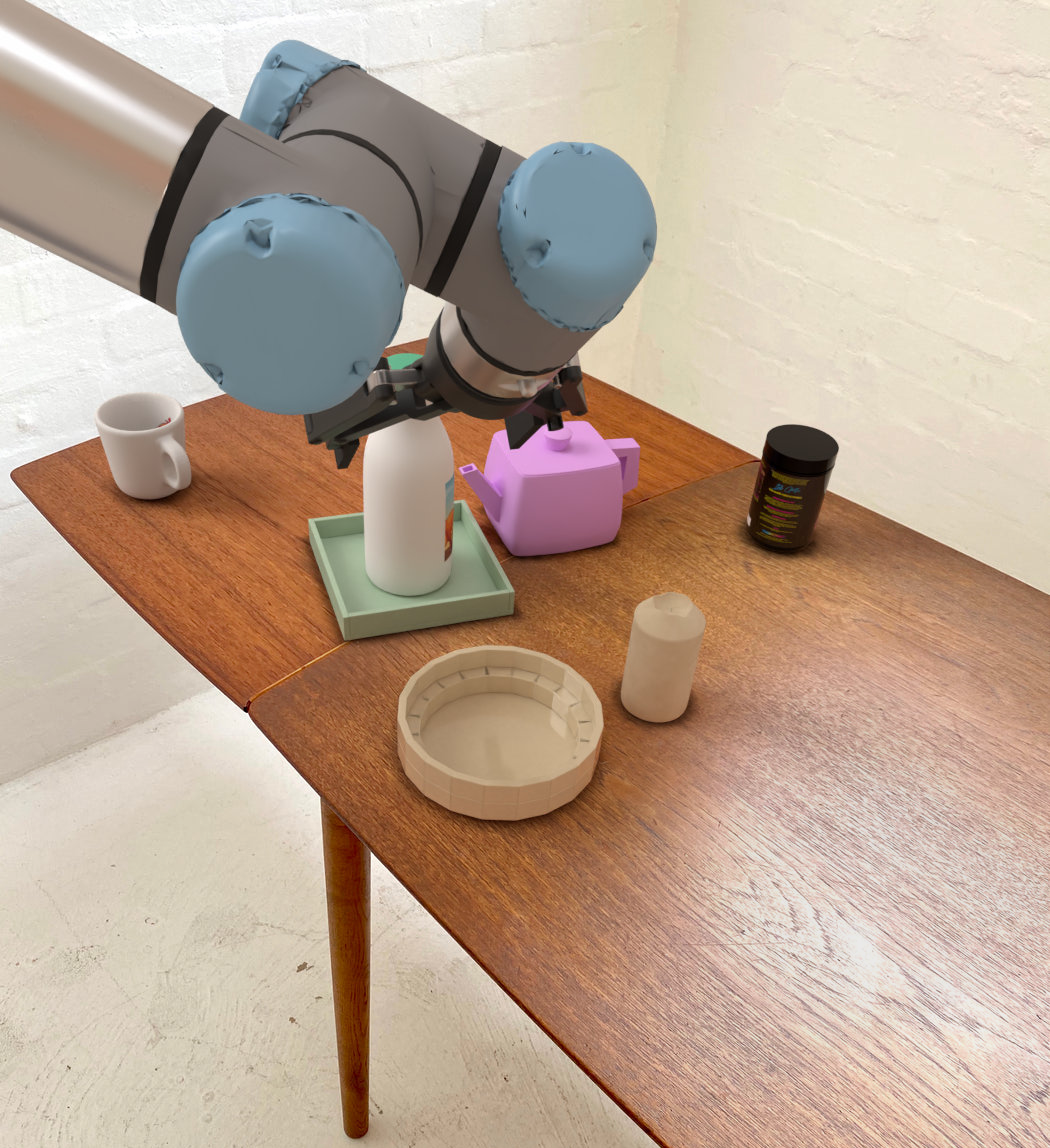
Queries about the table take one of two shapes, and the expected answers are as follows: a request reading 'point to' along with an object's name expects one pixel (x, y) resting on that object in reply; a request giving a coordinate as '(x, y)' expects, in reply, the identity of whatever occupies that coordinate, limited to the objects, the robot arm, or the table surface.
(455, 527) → the tray
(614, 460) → the teapot
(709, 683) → the table surface
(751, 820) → the table surface
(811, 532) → the supplement container
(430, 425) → the milk bottle
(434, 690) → the bowl
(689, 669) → the candle
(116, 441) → the cup
